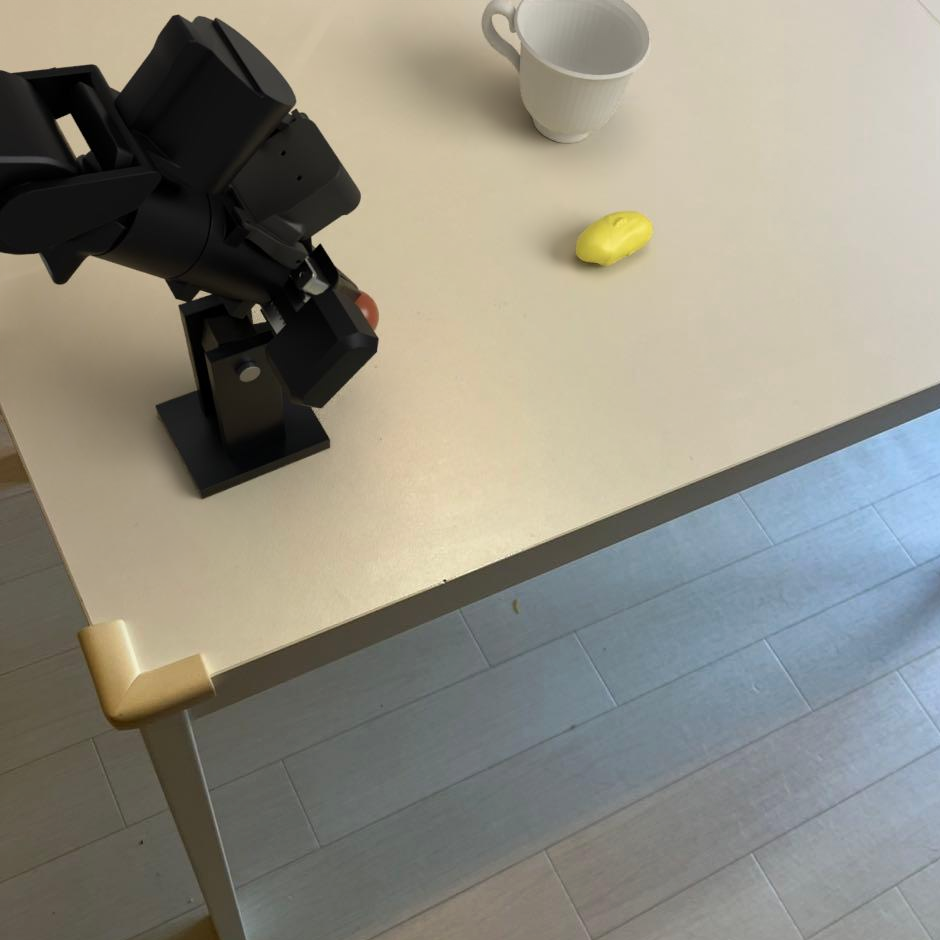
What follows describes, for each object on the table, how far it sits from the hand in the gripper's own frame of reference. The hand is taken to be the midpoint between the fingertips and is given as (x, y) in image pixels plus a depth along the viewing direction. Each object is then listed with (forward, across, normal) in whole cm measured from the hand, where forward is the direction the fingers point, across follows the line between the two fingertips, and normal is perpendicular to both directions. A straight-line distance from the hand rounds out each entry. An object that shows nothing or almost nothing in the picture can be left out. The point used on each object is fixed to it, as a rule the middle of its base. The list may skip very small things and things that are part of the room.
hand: (355, 295), depth 69 cm
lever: (-1, 0, +5) cm, 6 cm away
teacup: (+30, +20, -13) cm, 38 cm away
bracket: (+2, 0, +14) cm, 14 cm away
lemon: (+27, +4, -11) cm, 29 cm away
